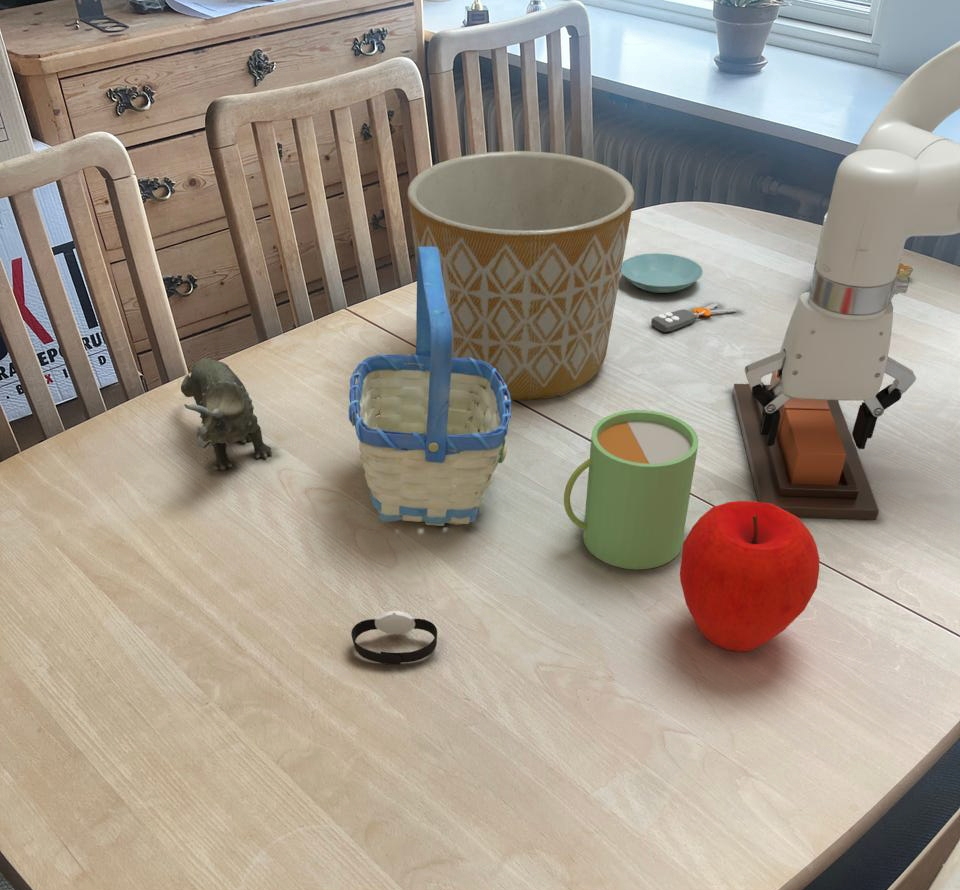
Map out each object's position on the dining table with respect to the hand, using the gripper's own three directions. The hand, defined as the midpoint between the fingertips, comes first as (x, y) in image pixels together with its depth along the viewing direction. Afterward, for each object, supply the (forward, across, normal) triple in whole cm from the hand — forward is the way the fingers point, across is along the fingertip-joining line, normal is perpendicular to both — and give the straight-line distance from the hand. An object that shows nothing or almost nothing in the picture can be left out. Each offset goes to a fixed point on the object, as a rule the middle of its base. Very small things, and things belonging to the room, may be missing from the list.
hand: (812, 441), depth 114 cm
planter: (+4, +33, -23) cm, 41 cm away
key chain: (+4, +9, -37) cm, 39 cm away
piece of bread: (+4, -18, -52) cm, 56 cm away
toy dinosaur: (+4, +65, -1) cm, 65 cm away
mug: (+4, +21, +14) cm, 25 cm away
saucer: (+4, +13, -48) cm, 50 cm away
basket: (+4, +41, +6) cm, 42 cm away
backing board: (+4, 0, -4) cm, 6 cm away
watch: (+4, +42, +32) cm, 53 cm away
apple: (+4, +11, +28) cm, 30 cm away
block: (+3, 0, 0) cm, 3 cm away
